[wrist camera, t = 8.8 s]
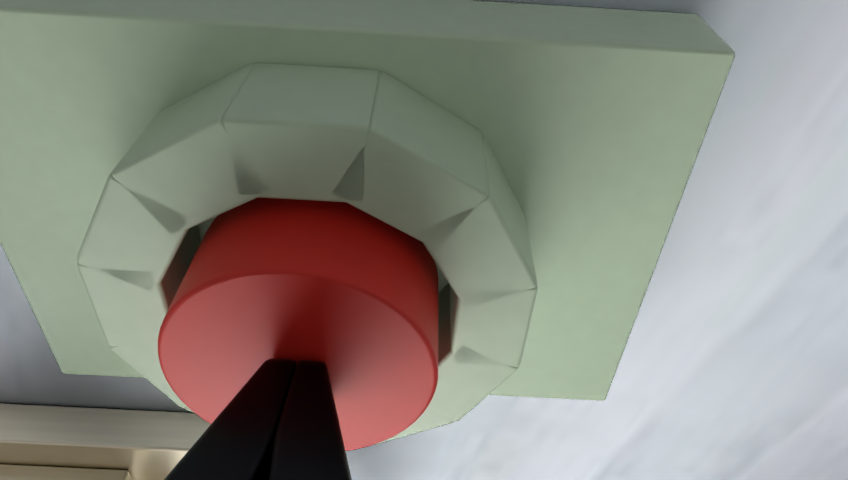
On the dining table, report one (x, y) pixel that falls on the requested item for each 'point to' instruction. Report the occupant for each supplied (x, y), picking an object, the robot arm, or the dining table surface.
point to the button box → (356, 164)
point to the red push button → (308, 312)
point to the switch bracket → (93, 442)
